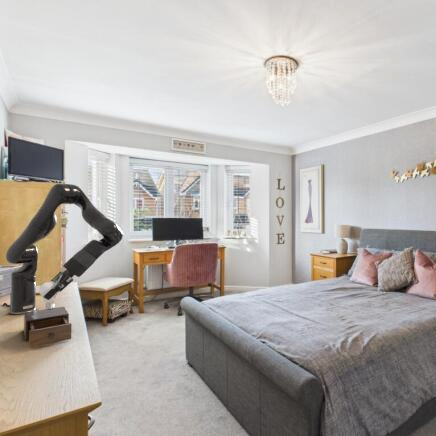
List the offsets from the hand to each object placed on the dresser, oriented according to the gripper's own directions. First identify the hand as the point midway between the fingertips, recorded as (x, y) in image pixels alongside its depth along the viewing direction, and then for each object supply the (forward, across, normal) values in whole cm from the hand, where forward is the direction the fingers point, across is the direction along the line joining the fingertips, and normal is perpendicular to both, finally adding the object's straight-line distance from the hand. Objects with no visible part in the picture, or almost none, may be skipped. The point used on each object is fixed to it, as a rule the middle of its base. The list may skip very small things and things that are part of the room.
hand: (44, 296), depth 120 cm
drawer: (+10, +1, +12) cm, 16 cm away
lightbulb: (+3, 0, +5) cm, 6 cm away
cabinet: (+10, -12, +14) cm, 21 cm away
